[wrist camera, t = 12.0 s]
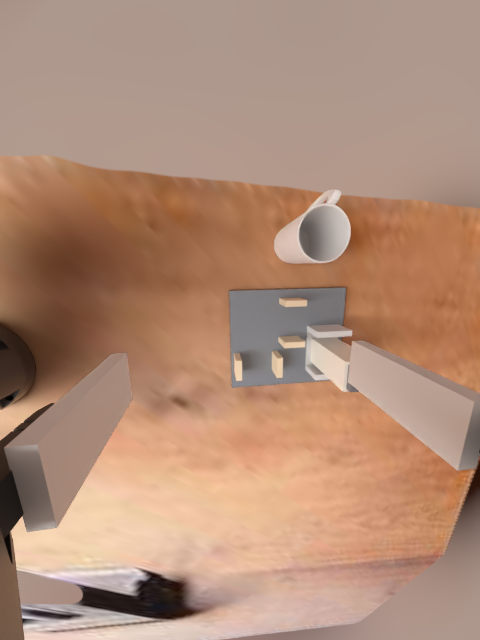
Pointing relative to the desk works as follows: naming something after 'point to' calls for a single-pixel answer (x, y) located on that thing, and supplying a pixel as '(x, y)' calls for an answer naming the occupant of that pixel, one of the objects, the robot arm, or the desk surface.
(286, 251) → the mug
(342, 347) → the block
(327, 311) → the board
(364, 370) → the robot arm
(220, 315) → the desk surface
